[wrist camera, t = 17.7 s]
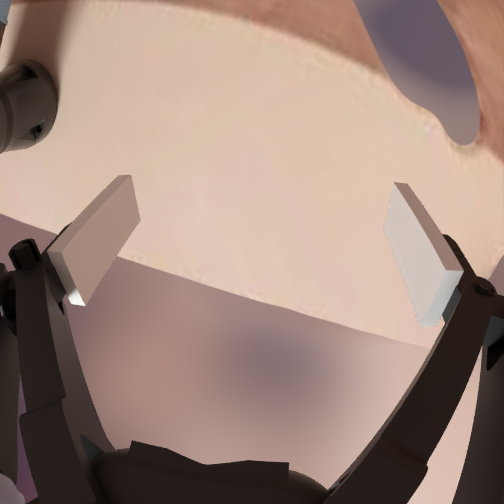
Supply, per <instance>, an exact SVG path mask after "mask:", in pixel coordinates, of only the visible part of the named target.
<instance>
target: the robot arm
mask: <svg viewBox="0 0 504 504" xmlns="http://www.w3.org/2000/svg"><path fill="white" fill-rule="evenodd" d="M11 2H12V0H0V47H1V43H2V38H3V34H4V30H5V27H6V25H7V23H8V21H7V17H8V13H9V9H10V5H11ZM56 110H57V96H56V90H55V86H54V83H53V80H52V78H51V76H50V74H49V73H48V71H47V70H46V69H45V68H44V67H43V66H42V65H41V64H39V63H37V62H35V61H31V60H25V61H21V62H17V63H14V64H11V65H10V66H8V67H6V68H5V69H4V70H2V71H1V72H0V154H1V153H2V152H6V151H13V150H20V149H26V148H29V147H31V146H33V145H35V144H37V143H38V142H40V141H41V140H43V139H44V138H45V137H46V136H47V134H48V133H49V132H50V130H51V128H52V126H53V123H54V120H55V116H56ZM139 222H140V215H139V211H138V206H137V201H136V197H135V192H134V187H133V182H132V177H131V175H120V176H118V177H117V178H116V179H114V180H113V181H112V182H111V183H110V184H109V185H108V186H107V187H106V188H105V189H104V190H103V191H102V192H101V193H100V194H99V195H98V196H97V197H96V198H95V199H94V200H93V201H92V202H91V203H90V204H89V205H88V206H87V207H86V208H85V209H84V210H83V211H82V212H81V214H80V215H79V216H78V217H77V218H76V219H75V220H74V221H73V222H72V223H70V224H69V225H67V226H66V227H65V228H64V229H63V230H62V231H61V232H60V233H59V235H57V236H56V238H55V239H54V240H53V241H52V242H51V243H50V245H49V246H48V247H47V248H46V249H45V250H44V251H43V253H42V254H40V252H39V250H38V247H37V245H36V243H35V240H34V239H25V240H22V241H20V242H18V243H17V244H15V245H14V246H13V247H12V248H11V249H10V251H9V253H8V254H9V257H10V259H11V261H12V263H13V265H14V267H15V269H16V270H15V271H10V272H8V271H7V269H6V267H5V265H4V264H3V263H0V311H1V312H2V314H3V316H1V312H0V504H25V500H24V497H23V495H22V494H21V493H20V492H18V491H17V488H16V481H17V468H18V467H17V456H18V454H17V415H18V414H17V413H18V395H19V382H20V372H21V379H22V387H23V393H24V398H25V405H26V413H24V414H22V415H20V417H19V425H20V430H21V435H22V439H23V444H24V448H25V452H26V456H27V460H28V463H29V467H30V471H31V474H32V477H33V481H34V484H35V486H36V490H37V493H38V497H37V498H35V499H33V500H32V501H30V502H29V503H27V504H407V503H408V501H409V500H410V498H411V497H412V496H413V494H414V493H415V491H416V490H417V488H418V486H419V485H420V484H421V482H422V480H423V479H424V477H425V475H426V473H427V470H428V466H427V462H428V460H429V458H430V456H431V455H432V453H433V451H434V449H435V448H436V446H437V444H438V442H439V441H440V439H441V437H442V435H443V433H444V431H445V429H446V428H447V425H448V423H449V422H450V420H451V418H452V416H453V414H454V412H455V410H456V407H457V405H458V403H459V401H460V399H461V397H462V395H463V392H464V390H465V388H466V385H467V383H468V381H469V378H470V376H471V373H472V371H473V368H474V366H475V363H476V360H477V358H478V355H479V352H480V350H481V346H482V347H483V348H482V361H481V372H480V382H479V390H478V397H477V404H476V411H475V416H474V422H473V427H472V432H471V437H470V441H469V446H468V450H467V454H466V458H465V463H464V466H463V470H462V473H461V477H460V480H459V483H458V487H457V490H456V493H455V496H454V499H453V502H452V504H504V296H501V295H498V294H497V292H496V290H495V287H494V286H493V285H492V284H491V283H490V282H489V281H487V280H486V279H484V278H482V277H478V276H476V274H475V273H474V271H473V269H472V267H471V266H470V264H469V262H468V261H467V259H466V258H465V256H464V254H463V253H462V251H461V249H460V248H459V246H458V245H457V243H456V242H455V241H454V240H453V239H452V238H451V237H450V236H448V235H444V234H442V233H441V232H440V230H439V229H438V227H437V226H436V224H435V223H434V221H433V220H432V218H431V217H430V215H429V214H428V212H427V211H426V209H425V208H424V206H423V205H422V203H421V202H420V201H419V199H418V198H417V196H416V195H415V194H414V192H413V191H412V189H411V188H410V187H409V185H408V184H406V183H397V182H393V187H392V192H391V197H390V202H389V207H388V211H387V216H386V220H385V225H384V229H383V230H384V232H385V235H386V237H387V240H388V242H389V244H390V247H391V249H392V252H393V254H394V257H395V259H396V262H397V264H398V267H399V270H400V272H401V275H402V277H403V280H404V283H405V286H406V288H407V291H408V294H409V297H410V300H411V303H412V305H413V308H414V311H415V314H416V317H417V321H418V324H419V327H433V326H437V324H438V322H439V320H440V319H441V317H442V316H443V318H444V321H445V325H444V327H443V328H442V330H441V332H440V334H439V335H438V337H437V339H436V340H435V344H434V345H433V347H432V349H431V351H430V353H429V354H428V356H427V358H426V360H425V361H424V363H423V365H422V366H421V368H420V370H419V372H418V373H417V375H416V376H415V378H414V380H413V381H412V383H411V384H410V386H409V388H408V389H407V391H406V392H405V394H404V395H403V397H402V398H401V400H400V401H399V403H398V404H397V406H396V407H395V409H394V410H393V412H392V413H391V414H390V416H389V417H388V419H387V420H386V421H385V423H384V424H383V425H382V427H381V428H380V430H379V431H378V432H377V434H376V435H375V436H374V437H373V439H372V440H371V441H370V443H369V444H368V445H367V446H366V448H365V449H364V450H363V451H362V453H361V454H360V455H359V456H358V457H357V459H356V460H355V461H354V462H353V463H352V464H351V466H350V467H349V468H348V469H347V470H346V471H345V472H344V473H343V474H342V475H341V476H340V477H339V479H338V480H337V481H336V482H335V483H334V484H333V485H332V486H331V487H330V488H329V489H328V490H327V489H326V488H324V487H323V486H322V485H321V484H319V483H318V482H316V481H315V480H314V479H312V478H310V477H307V476H306V475H303V474H301V473H298V472H295V471H292V470H289V463H288V462H287V463H286V462H266V461H252V460H246V461H239V462H231V463H221V464H211V465H205V464H201V463H199V462H196V461H194V460H191V459H189V458H187V457H185V456H182V455H180V454H178V453H176V452H174V451H171V450H169V449H167V448H163V447H158V446H153V445H149V444H145V443H141V442H136V441H133V440H132V442H131V446H130V448H125V449H117V450H115V448H114V447H113V446H112V444H111V443H110V441H109V440H108V438H107V437H106V434H105V432H104V430H103V428H102V425H101V422H100V420H99V417H98V415H97V412H96V409H95V407H94V404H93V401H92V398H91V396H90V393H89V390H88V387H87V384H86V381H85V378H84V375H83V372H82V368H81V365H80V362H79V358H78V355H77V351H76V348H75V344H74V340H73V336H72V332H71V328H70V324H69V320H68V316H67V311H66V307H65V304H64V302H63V300H62V299H63V297H64V295H65V294H67V296H68V298H69V300H70V302H71V304H77V305H83V306H86V304H87V302H88V300H89V299H90V297H91V295H92V293H93V292H94V290H95V289H96V287H97V285H98V284H99V282H100V280H101V279H102V278H103V276H104V274H105V273H106V271H107V270H108V268H109V266H110V265H111V263H112V262H113V260H114V259H115V257H116V256H117V254H118V253H119V251H120V250H121V248H122V247H123V245H124V244H125V242H126V241H127V239H128V238H129V236H130V235H131V233H132V232H133V230H134V229H135V228H136V226H137V225H138V223H139Z"/></svg>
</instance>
